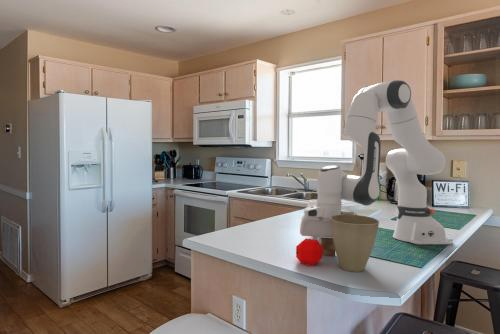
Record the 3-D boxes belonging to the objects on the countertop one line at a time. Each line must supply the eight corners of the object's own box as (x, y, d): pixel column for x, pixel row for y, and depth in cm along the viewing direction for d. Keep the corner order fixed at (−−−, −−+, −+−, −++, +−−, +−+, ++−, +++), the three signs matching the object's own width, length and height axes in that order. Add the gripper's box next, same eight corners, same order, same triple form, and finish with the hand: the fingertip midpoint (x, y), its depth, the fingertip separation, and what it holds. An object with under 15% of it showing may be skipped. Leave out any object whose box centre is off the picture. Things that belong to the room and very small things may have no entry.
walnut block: (333, 252, 128) (334, 236, 128) (335, 256, 123) (335, 240, 123) (319, 251, 129) (320, 235, 128) (320, 256, 124) (321, 239, 123)
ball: (301, 257, 121) (301, 236, 121) (324, 261, 118) (324, 239, 117) (293, 264, 114) (294, 241, 114) (317, 268, 110) (318, 245, 110)
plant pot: (325, 272, 107) (327, 221, 106) (332, 258, 121) (333, 213, 120) (376, 279, 102) (378, 225, 101) (377, 264, 116) (379, 216, 115)
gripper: (356, 210, 127) (355, 247, 128) (300, 208, 129) (299, 244, 130) (360, 213, 121) (358, 252, 121) (300, 211, 123) (299, 249, 124)
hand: (327, 248), depth 126 cm, fingers open, 5 cm apart
